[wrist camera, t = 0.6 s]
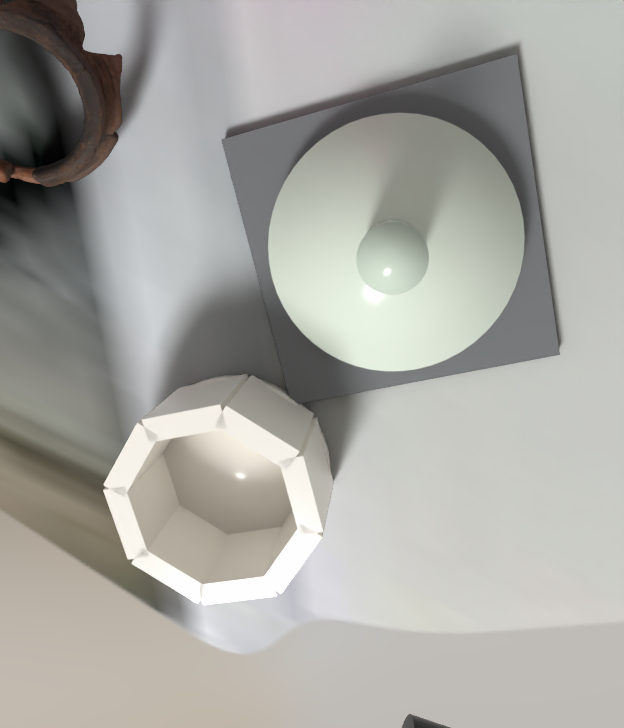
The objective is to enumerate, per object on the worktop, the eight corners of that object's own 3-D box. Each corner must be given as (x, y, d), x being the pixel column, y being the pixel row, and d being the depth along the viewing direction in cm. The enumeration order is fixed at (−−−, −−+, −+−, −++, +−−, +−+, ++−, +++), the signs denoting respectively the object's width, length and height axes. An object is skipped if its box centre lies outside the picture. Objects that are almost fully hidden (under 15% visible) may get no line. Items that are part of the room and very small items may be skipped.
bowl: (305, 358, 30) (287, 389, 25) (349, 530, 33) (340, 590, 28) (129, 394, 32) (79, 429, 27) (182, 553, 35) (145, 613, 30)
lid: (497, 84, 25) (529, 47, 19) (535, 339, 28) (574, 374, 22) (246, 155, 28) (206, 141, 22) (304, 384, 30) (283, 427, 24)
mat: (514, 56, 25) (516, 53, 25) (556, 352, 29) (559, 354, 28) (224, 140, 28) (221, 139, 28) (293, 402, 31) (291, 405, 31)
